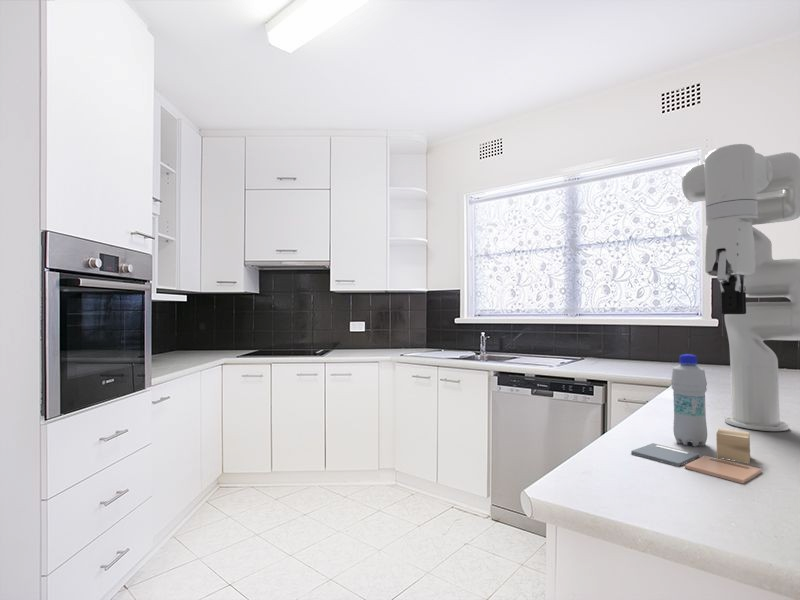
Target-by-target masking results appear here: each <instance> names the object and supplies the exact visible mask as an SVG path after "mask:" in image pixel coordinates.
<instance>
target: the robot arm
mask: <svg viewBox="0 0 800 600" xmlns="http://www.w3.org/2000/svg"><path fill="white" fill-rule="evenodd" d="M704 158H705V159H704V162H703V163H698V164H695V165H692V166H689V167H688V168H687V169H686V170H684V171H685V172H684V173H683V176H682V181H681V189H682V192H683V195H684V197H685V198H686V199H687V200H688V201H689V202H691V203H698V202H704V201H705V203H704V204H705V222H706V223H705V225H706V226H707V228H706V236H705V237H706V238H705V257H704V258H705V263H704V264H705V273H706V275H708V276H711V277H716V280H717V281H718V282H719V287H720V295H721V296H720V297H721V299H720V300H721V313H722V314H723V315H724V324H725V328H726V333H727V339H728V344H729V345H728V346H729V363H730V364H729V367H730V368H729V369H730V394H731V395H730V396H731V397H730V398H731V401H730V402H731V414H729V415H726V416H724V422H725V423H727V424H729V425H731V426H733V427H734V426H735V427H737V428H742V429H743V428H744V429H748V430H753V431H763V432H785V431H788V430H789V424H788V423H787V422H785V421H782V420H781V417H780V415H781V414H780V410H781V409H780V386H779V384H780V383H779V381H780V380H779V359H778V356H777V354H776V353H775V352H774V351H773V349H771V348H770V347H769V346H768V345H767V344H766V343H765V342H764V341H771V340H772V341H800V258H783V259H773V250H772V249H773V248H772V247H773V245H772V241H771V239H770V238H769V237H768V236H767V235H766V234H764V233H763V232H762V231H760V230H759V229H758V228H756V227H754V226H756V225H766V224H775V223H781V222H782V223H783V222H791V221H794V220H797V219H799V218H800V157H799V156H798V154H796V153H794V152H788V151H787V152H780V153H776V154H775V153H774V154H772V155H763V154H761V153H758V152H756V150H755V148H754V146H752V145H750V144H747V143H735V144H729V145H723V146H721V147H718V148H716V149H713V150H711V151H709V152H708V154H707V155H705V157H704ZM747 298H786V299H788V300H790V301H776V302H775V301H773V302H772V301H771V302H770V301H758V302H757V301H756V302H755V301H753V302H751V301H750V302H749V301H748V302H747Z"/></svg>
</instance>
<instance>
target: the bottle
mask: <svg viewBox="0 0 800 600" xmlns="http://www.w3.org/2000/svg"><path fill="white" fill-rule="evenodd" d="M678 358H679V359H678V360H679V365H676V366H674V367H672V373H671V380H670V383H671V389H672V390H673V394H672V395H673V427H672V428H673V430H672V431H673V436H674V439H675V441H676V443H677V442H678V443H679V444H683V445H685V446H688V445H689V442H691V443H692V446H693V447H695V446H696V447H698V446H699V445H700V446H699V447H703V446H705V445H706V443H707V439H708V426H707V419H706V418H707V417H706V416H707V414H706V411H707V410H706V409H707V408H706V392H707V390H708V388H707V387H708V386H707V385H708V382H707V377H706V371H705V369H704V368H702V367H700V366H698V357H697V356H696V355H695V354H690V353H685V354H680V355H679V357H678Z"/></svg>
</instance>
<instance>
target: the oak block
mask: <svg viewBox="0 0 800 600" xmlns="http://www.w3.org/2000/svg"><path fill="white" fill-rule="evenodd" d="M750 435H751V434H750V432H748V431H740V430H735V429H733V430H732V429H727V428H718V429H717V432H716V457H718V458H717V459H720V458H724V459H723V460H725V459H730V460H729V461H731V460H735V461H734V462H737V461H739V462H738V463H742V462H743V464H747V465H748V464H750V461H751V443H750V442H751V440H750V439H751V437H750Z"/></svg>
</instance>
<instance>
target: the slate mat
mask: <svg viewBox="0 0 800 600" xmlns="http://www.w3.org/2000/svg"><path fill="white" fill-rule="evenodd" d="M630 451H631V452H630V453H631V455H634V454H635V455H634V456H639V457H642V458H645V459H649V460H652V461H653V460H654V461H656V460H658V461H657V462H660V461H662V462H661V463H664V462H665V463H664V464H668V463H669V464H668V465H671V464H673V465H672V466H675V465H676V467H681V466H683V465H682V464H684V463H686V462H688V463H690V462H692V461H694V460H696V459H695V458H697V457H699V458H700V453H696V452H691V451H688V450H683V449H678V448H675V447H670V446H666V445H662V444H658V443H654V442H652V443H649V444H647V445H644V446H641V447H638V448H636V449H632V450H630ZM693 459H694V460H693ZM697 459H698V458H697ZM691 460H692V461H691ZM689 461H690V462H689ZM686 464H687V463H686ZM680 465H681V466H680ZM684 465H685V464H684Z"/></svg>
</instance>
